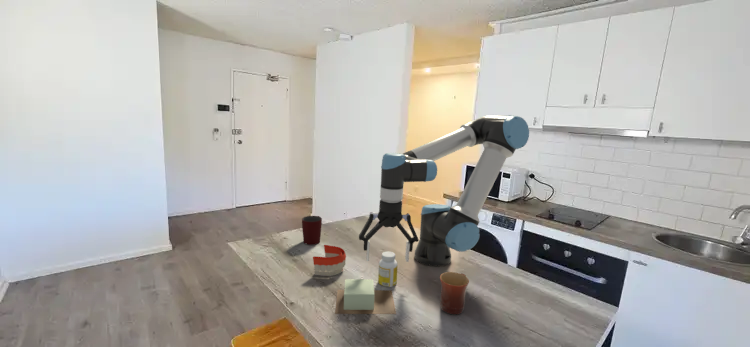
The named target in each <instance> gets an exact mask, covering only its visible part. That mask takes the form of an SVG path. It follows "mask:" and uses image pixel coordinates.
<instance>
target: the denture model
mask: <svg viewBox="0 0 750 347" xmlns="http://www.w3.org/2000/svg"><path fill="white" fill-rule="evenodd" d="M323 248H324V256H313V257H312V261H313V270H314V272H313V274H314V275H315V276H322V277H323V276H325V277H326V276H327V277H330V276H331V277H332V276H336V275H339V274H341V273H342V272H343V271H344V267H345V266H346V261H347V260H346V258H347V254H346V252H345V250H344V248H342V247H339V246H335V245H329V244H324V245H323Z"/></svg>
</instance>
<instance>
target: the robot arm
mask: <svg viewBox="0 0 750 347" xmlns="http://www.w3.org/2000/svg"><path fill="white" fill-rule="evenodd" d="M529 136H530V129H529V125H528V122H527V121H526V120H525V118H523V117H522V116H518V115H512V114H508V115H497V114H495V115H494V114H488V115H484V116H480V117H478V118H476V119H473V120H471V121H469V122H466V123H464V124H461V125H460V127H459V128H458V129H457V130H454V131H452V132H450V133H447V134H445V135H443V136H441V137H438V138H436V139H434V140H431V141H430V142H426V143H424V144H423V145H419V146H418V147H414V148H413V149H410V150H408V151H405V152H403V153H396V152H395V153H394V152H388V153H384V154H383V155H382V158H381V166H380V167H381V168H380V169H381V171H380V172H381V173H380V175H381V176H380V190H379V191H380V193H379V199H380V200H379V208H378V209H379V210H378V213H374V212H373V211H371V212H369V215H368V219H367V220H366V222H365V224H364V226H363V228H362V229H361V231H360V233H359V234H358V239H359V241H363V251H366V257H365V258H366V261H367V262H368V261H370V245H371V244H370V242H371V241H370V240H371V238H372V237H373V236H374V235H375V234H376V233H377V232H378V231H379V230H380V229H382V228H383V227H385V228H392V229H393V228H396V227H397V228H398V229H399V231H400V232H401V233H402V235H404V237H405V238H406V239H407V240H406V242H405V243H406V244H405V256H404V257H405V259H404V260H405V262H408V263H409V261H410V252H411V253H412V252H413V247H414V243H415V242H418V243H417V245H416V247H415V250H414V259H415V260H416V261H417V262H418V263H420V264H422V265H425V266H429V267H445V266H448V265H449V264H450V263H451V262H452V253H451V250H450V249H452V250H453V251H456V252H460V253H463V252H467V251H470V250H472V248H474V247H475V246H476V245H477V243H478V242H479V240H480V235H481V234H480V228H479V227H478V226H479V224H480V219H479V218H480V217H479V214H480V211H481V210H482V208H483V206H484V204H485V202H486V200H487V198H488V196H489V194H490V192H491V190H492V188H493V186H494V183H495V181H496V180H497V178H498V176H499V174H500V173H501V169H502V168H503V166H504V164H505V163H506V160H507V159H508V158H511V157H512V156H514V154H515V151H516V150H519V149H522V148H523V147H525V146H526V145H527V143H528V141H529V138H530V137H529ZM478 145H483V148H484V149H483V151H482V152H481V155H480V157H479V159H478V160H477V163H476V165H475V166H474V169H473V170H472V173H471V174H470V176H469V179H468V181H467V183H466V185H465V186H464V189H463V191H462V193H461V195H460V197H459V199H458V201H457V203H456V204H455V205H454V206H450V205H448V204H441V203H436V204H435V203H433V204H431V203H430V204H425V205H424V206H422V208H421V212H420V229H419V230H420V231H419V238H418V235H417V232H416V230H415V228H414V225H413V223H412V220H411V219H412V217H411V214H410V213H409V212H408V213H406V214H402V211H403V209H402V208H403V201H402V200H403V194H404V183H419V182H421V183H422V182H423V183H427V182H432V181H434V180H435V179H436V178H437V176H438V166H437V163H436V162H435V161H437V160H439V159H442V158H445V157H447V156H448V155H450V154H453V153H456V152H457V151H460V150H462V149H464V148H466V147H469V148H472V147H474V146H478ZM376 218H377V219H378V222H377V223H376V224H375V225H374V226H373V227H372V228H371V229H370V230H369V228H370V226H371V225H372V224H373V221H374V220H376ZM403 219H404V221H405V222H406V223H407V225H408V227H409V230H410V232H411V235H412V236H411V235H410V234H409V233H408V231H407V230H406V229H405V227H404V226H403V225H402V224H401V221H402V220H403ZM368 230H369V231H368ZM367 232H368V233H367Z"/></svg>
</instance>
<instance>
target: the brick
mask: <svg viewBox="0 0 750 347" xmlns="http://www.w3.org/2000/svg"><path fill="white" fill-rule="evenodd" d="M343 290H344V310H374V290H375V284H374V279H373V278H372V279H371V278H370V279H368V278H366V279H365V278H360V279H359V278H353V279H352V278H345V279H344V289H343Z"/></svg>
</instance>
